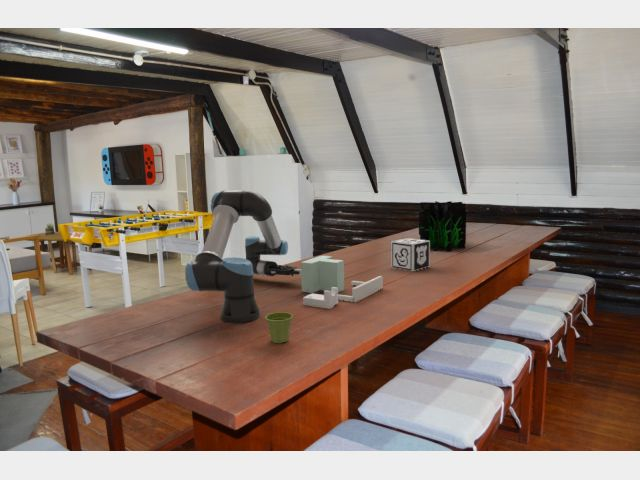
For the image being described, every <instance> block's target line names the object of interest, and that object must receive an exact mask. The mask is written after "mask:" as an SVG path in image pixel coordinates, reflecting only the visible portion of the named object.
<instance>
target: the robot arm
mask: <svg viewBox="0 0 640 480" xmlns="http://www.w3.org/2000/svg"><path fill="white" fill-rule="evenodd" d="M210 202H211V203H210V210H211V213H212V215H213V217H214V218H213V220H212V223H211V226H210V229H209V232H208V234H207V237H206V240H205V242H204V246H203V248H202V251H201V252H200V253H198V254H197V255H196V256H195V258H194V261H193V260H191V261H188V262H187V263H186V265H185V271H184V272H185V275H184V276H185V281H186V286H188V288H189V290H190V291H196V292H223V295H224V297H223V298H224V299H223V304H222V306H221V312H220V319H221V320H222V321H223V322H226V323H231V324H233V323H234V324H240V323H249V322H252V321H254V320H257V319H259V318H260V309H259V306H258V304H257V300H256V298H255V284H254V283H255V282H254V275H258V276H259V275H262V276H263V277H265V276H267V277H275V276H291V277H294V276H301V268H300V269H299V268H298V267H297V266H291V265H287V264H285V265H281V264H277V262H276V261H271V260H263V259H261V256H285V255H287V254H288V251H289V243H288V241H287V240H284V239H281V237H280V233H279V231H278V229H277V226H276V223H275V220H274V217H273V216H272V214H273V210H272V209H273V208H272V207H271V204H270V203H269V201H267V199H266V198H265V197H264V196H263V195H261V194H260V193H259V192H257V191H254V190H250V189H239V190H230V189H229V190H228V189H223V190H218V191H216V192H214V194H213V195H212V197H211V200H210ZM240 217H252V219H253V220H254V221H256V223H257V225H258V227H259V230H260V232H261V233H262V236H263V239H264V240H263V239H262V240H261V239H260V236H258V235H257V236H256V235H253V236H251V235H250V236H247V237H246V238H245V239H244V247H245V249H244V251H245V258H243V257H225V258H223V257H224V254H225V250H226V248H227V244H228V242H229V238H230V235H231V233H232V232H231V231H232V230H233V229H232V228H233V226H234V224H235V223H238V221H239V218H240Z"/></svg>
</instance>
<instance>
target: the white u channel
mask: <svg viewBox="0 0 640 480" xmlns="http://www.w3.org/2000/svg"><path fill="white" fill-rule="evenodd" d="M383 281H384V279H383V275H379V276H376V277H374V278H373V279H370V280H367V281H360V280H359V281H358V280H351V283H350V284H351V286H353V285H356V286H354V287H352V289H351V295H345V294H339V293H338V301H343V300H344V301H345V302H349V301H350V303H357V302H360V301H361V300H363V299H365V298H367V297H369V296H371V295H373V294H375V293H377V292H378V290H379V291H381V290H383V289H382V288H384V287H383V285H384V284H383ZM380 289H381V290H380Z"/></svg>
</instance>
